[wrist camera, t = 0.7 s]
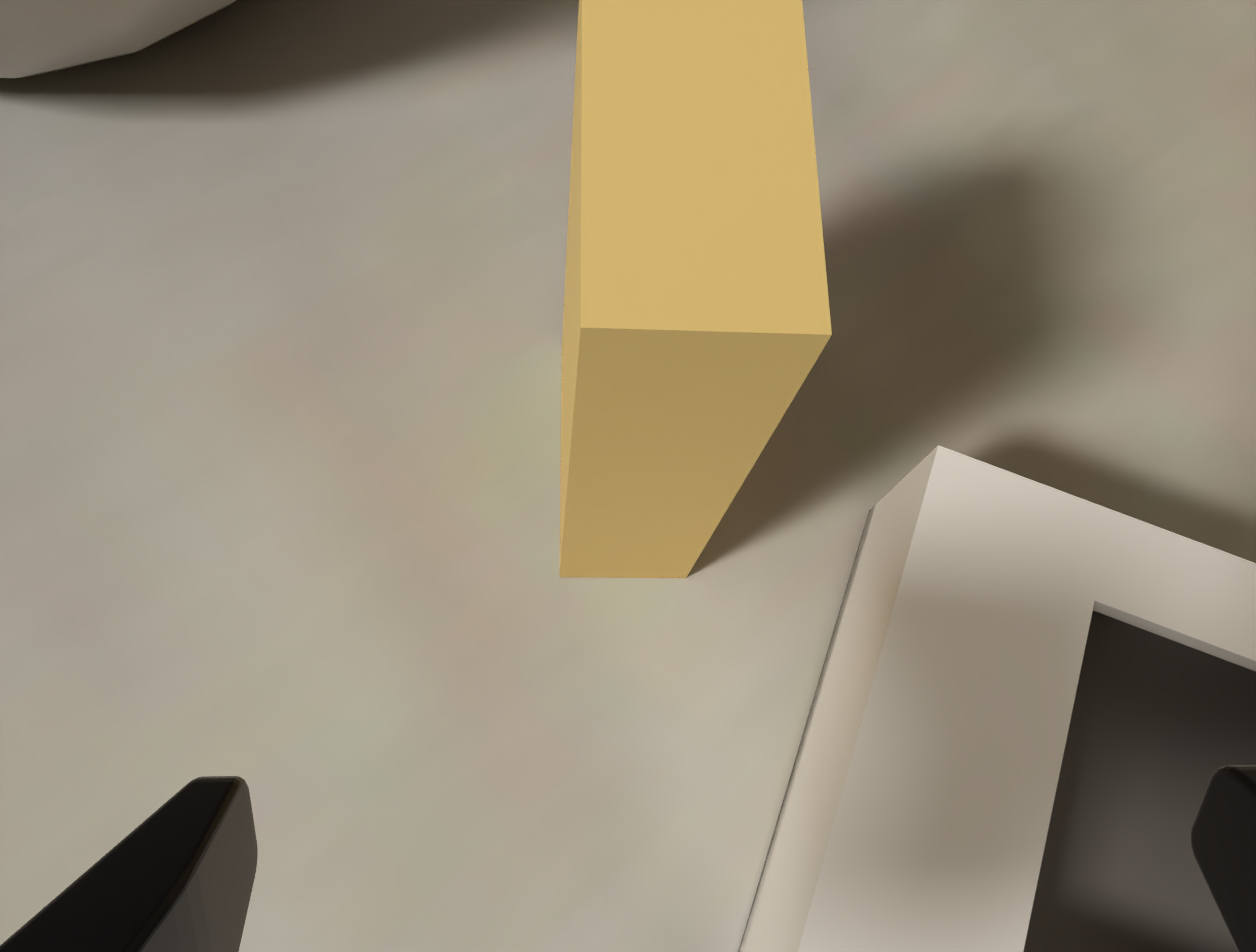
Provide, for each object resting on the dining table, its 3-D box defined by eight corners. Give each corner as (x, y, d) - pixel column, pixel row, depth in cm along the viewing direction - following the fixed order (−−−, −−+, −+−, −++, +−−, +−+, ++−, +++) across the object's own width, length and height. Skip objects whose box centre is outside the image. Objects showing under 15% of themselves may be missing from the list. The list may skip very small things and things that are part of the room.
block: (685, 578, 24) (831, 334, 12) (560, 577, 23) (580, 327, 12) (678, 350, 26) (797, -52, 14) (561, 347, 25) (581, -65, 14)
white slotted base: (1274, 1249, 20) (1472, 1363, 16) (716, 1026, 20) (762, 1078, 16) (1337, 686, 24) (1507, 656, 20) (869, 510, 25) (938, 445, 20)
